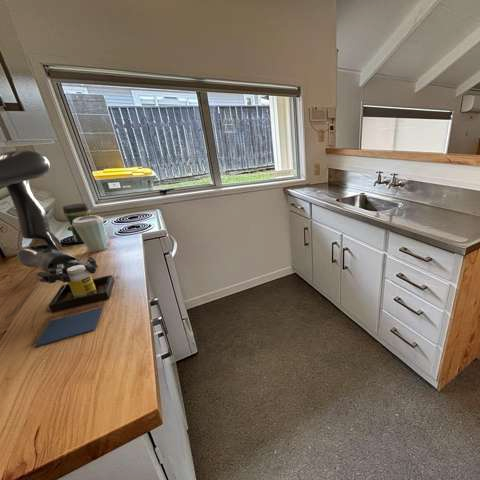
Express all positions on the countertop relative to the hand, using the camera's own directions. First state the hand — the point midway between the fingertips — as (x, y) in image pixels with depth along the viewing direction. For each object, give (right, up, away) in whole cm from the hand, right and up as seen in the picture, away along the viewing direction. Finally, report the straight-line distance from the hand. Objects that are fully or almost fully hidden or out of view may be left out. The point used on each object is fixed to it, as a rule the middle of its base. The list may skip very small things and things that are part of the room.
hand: (81, 274), depth 77 cm
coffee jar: (-46, +10, +53) cm, 71 cm away
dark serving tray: (-2, -7, +4) cm, 8 cm away
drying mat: (+7, -12, -10) cm, 17 cm away
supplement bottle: (-2, -7, +4) cm, 9 cm away
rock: (-55, +6, +41) cm, 69 cm away
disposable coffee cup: (-30, +6, +41) cm, 51 cm away
